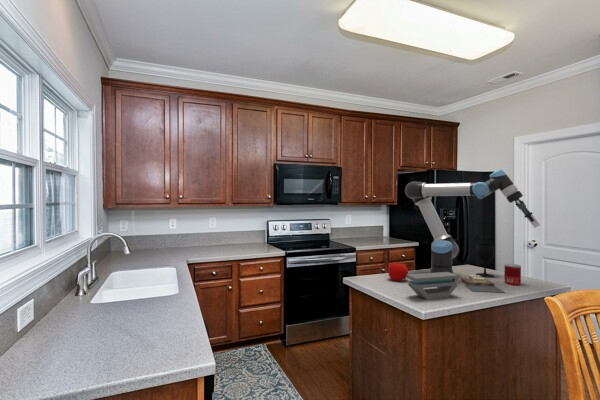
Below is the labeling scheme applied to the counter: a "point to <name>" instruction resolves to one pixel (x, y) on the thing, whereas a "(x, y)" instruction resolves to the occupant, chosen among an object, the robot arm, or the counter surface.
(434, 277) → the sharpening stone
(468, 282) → the walnut deck
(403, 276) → the tomato
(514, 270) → the canned food
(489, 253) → the wine glass
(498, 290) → the rubber mat
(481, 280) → the birch tile
